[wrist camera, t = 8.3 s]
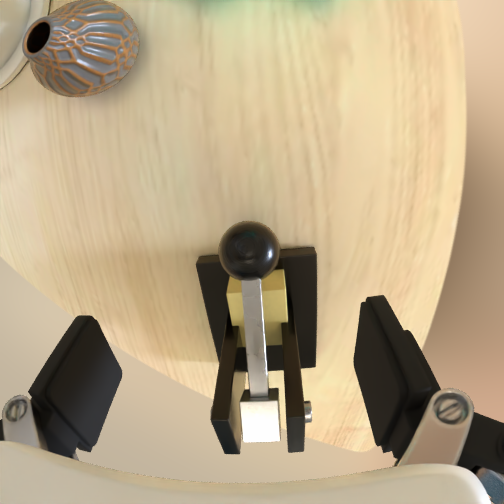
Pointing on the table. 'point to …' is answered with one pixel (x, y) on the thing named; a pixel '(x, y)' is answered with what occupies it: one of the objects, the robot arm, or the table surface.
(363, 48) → the table surface
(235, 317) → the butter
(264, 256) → the ball knob lever
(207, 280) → the black lever base
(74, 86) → the vase
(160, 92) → the table surface
